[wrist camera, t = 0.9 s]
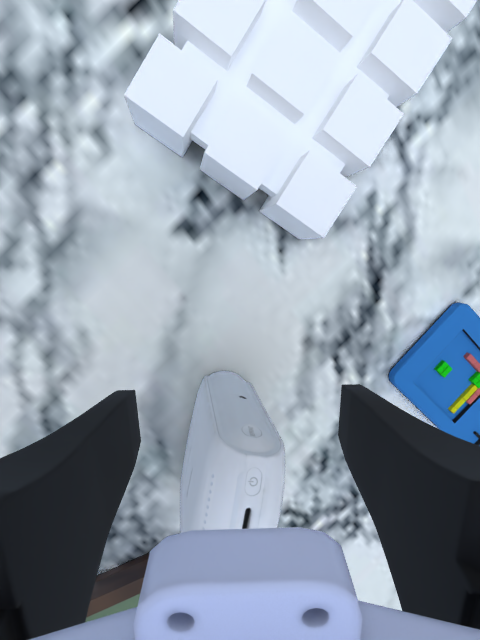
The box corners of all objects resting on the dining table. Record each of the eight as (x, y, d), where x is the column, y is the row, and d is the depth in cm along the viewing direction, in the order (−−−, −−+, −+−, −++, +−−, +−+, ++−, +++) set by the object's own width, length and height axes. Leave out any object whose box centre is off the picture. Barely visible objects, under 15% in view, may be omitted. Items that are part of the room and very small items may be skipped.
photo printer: (199, 364, 28) (214, 453, 16) (256, 373, 29) (311, 464, 17) (174, 490, 29) (170, 658, 17) (228, 495, 30) (260, 659, 18)
